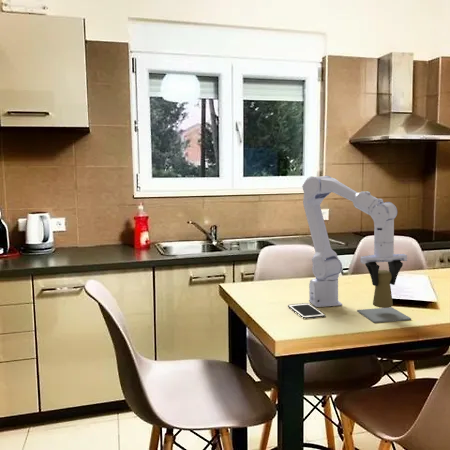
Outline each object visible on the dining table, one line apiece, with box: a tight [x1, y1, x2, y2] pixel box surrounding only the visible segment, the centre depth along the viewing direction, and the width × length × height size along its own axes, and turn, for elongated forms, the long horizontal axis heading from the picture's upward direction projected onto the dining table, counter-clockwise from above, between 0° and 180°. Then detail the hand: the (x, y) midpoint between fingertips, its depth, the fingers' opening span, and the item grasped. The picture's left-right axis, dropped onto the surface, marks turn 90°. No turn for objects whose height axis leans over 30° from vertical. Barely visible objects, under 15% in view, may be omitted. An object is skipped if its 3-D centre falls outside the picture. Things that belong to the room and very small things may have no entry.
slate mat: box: [356, 306, 412, 324], centre depth 150 cm, size 12×12×1 cm
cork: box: [372, 269, 394, 308], centre depth 149 cm, size 6×6×11 cm
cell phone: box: [287, 302, 326, 319], centre depth 156 cm, size 8×15×1 cm, turn 13°
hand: (383, 284), depth 148 cm, fingers closed on cork, 5 cm apart
